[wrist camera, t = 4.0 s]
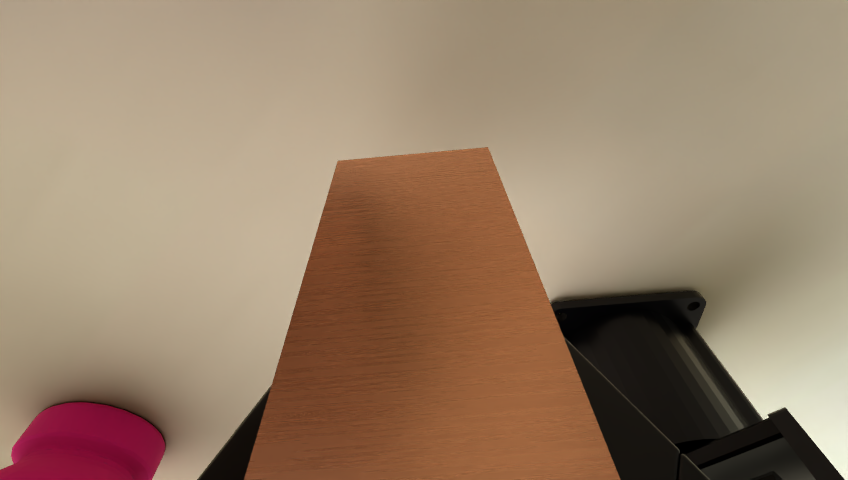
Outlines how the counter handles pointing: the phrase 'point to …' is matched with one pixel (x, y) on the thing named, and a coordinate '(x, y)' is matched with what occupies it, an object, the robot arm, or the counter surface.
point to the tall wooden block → (425, 340)
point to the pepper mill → (86, 445)
